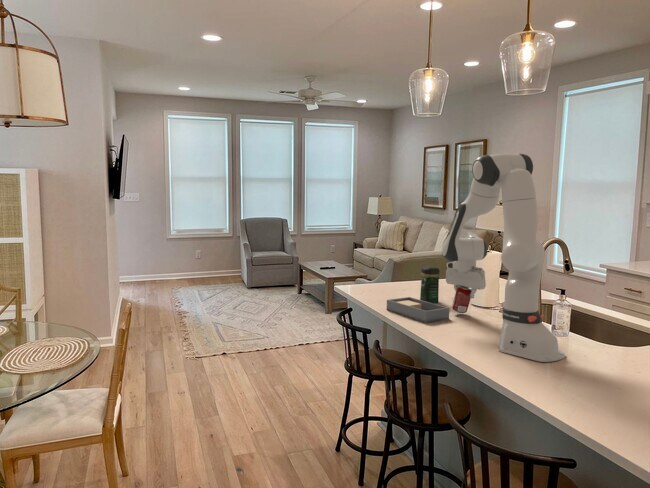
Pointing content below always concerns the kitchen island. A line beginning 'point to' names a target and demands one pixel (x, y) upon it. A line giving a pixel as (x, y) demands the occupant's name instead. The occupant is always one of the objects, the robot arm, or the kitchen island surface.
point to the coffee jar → (429, 284)
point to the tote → (419, 310)
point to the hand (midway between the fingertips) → (464, 296)
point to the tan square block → (411, 304)
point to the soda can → (461, 299)
